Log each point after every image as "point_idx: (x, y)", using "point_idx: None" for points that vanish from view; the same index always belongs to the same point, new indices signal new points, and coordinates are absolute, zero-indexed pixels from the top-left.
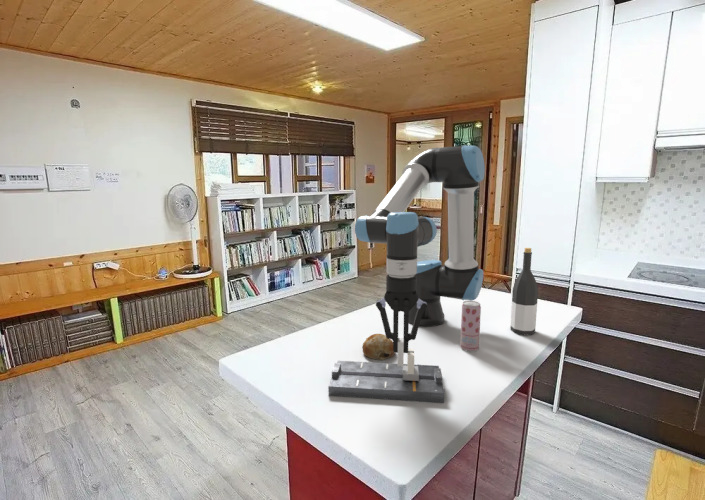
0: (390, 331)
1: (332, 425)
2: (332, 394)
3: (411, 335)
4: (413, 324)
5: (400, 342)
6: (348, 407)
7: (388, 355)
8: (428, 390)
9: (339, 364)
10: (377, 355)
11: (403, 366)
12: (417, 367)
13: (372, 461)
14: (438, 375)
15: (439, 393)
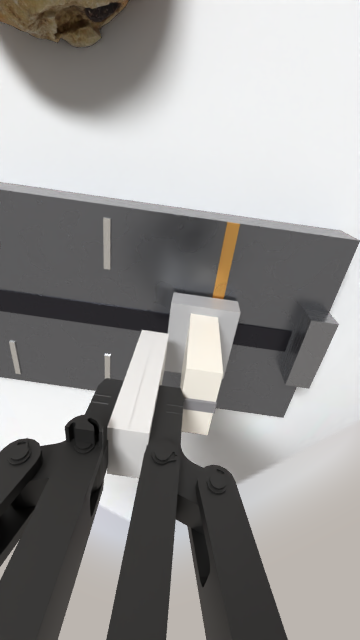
0: (25, 482)
1: (14, 440)
2: None
3: (191, 537)
4: (218, 620)
5: (124, 474)
6: (28, 395)
7: (116, 8)
8: (239, 404)
9: None
10: (44, 33)
11: (173, 312)
12: (234, 324)
13: (103, 503)
14: (301, 373)
15: (268, 413)
